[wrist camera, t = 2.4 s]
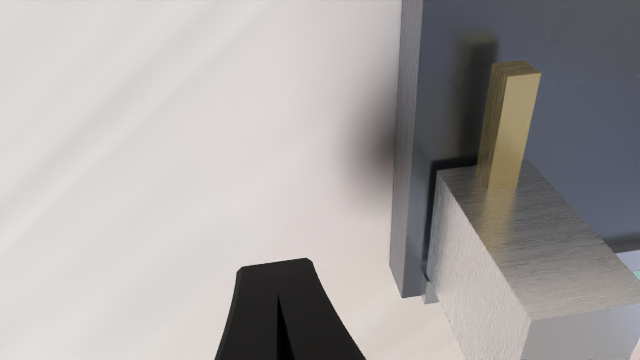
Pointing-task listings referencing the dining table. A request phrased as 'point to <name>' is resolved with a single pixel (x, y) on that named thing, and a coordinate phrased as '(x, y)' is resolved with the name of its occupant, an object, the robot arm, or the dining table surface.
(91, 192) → the dining table surface
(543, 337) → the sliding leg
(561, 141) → the gauge plate
